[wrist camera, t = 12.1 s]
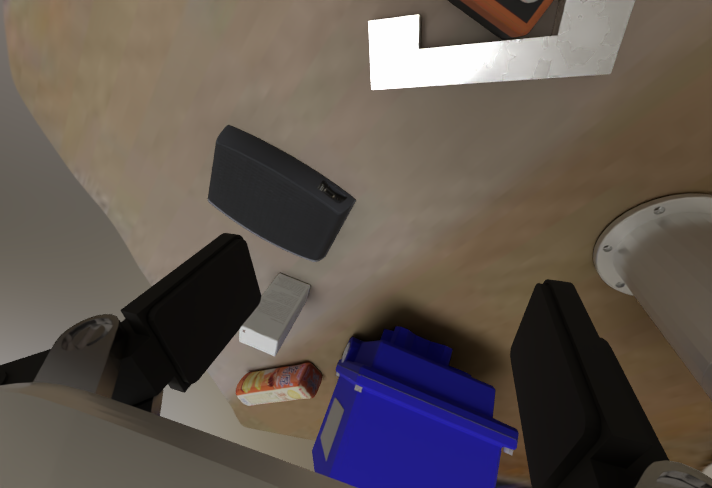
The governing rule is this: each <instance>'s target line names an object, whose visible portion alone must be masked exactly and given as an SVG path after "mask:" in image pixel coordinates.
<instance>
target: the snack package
mask: <svg viewBox="0 0 712 488" xmlns="http://www.w3.org/2000/svg"><path fill="white" fill-rule="evenodd" d="M321 381H322V375H321V372H320V371H319V370H318V369H317V368H316V367H315V366H314V365H313V364H312V363H303V364H300V365H294V366H287V367H280V368H273V369H269V370H263V371H256V372H249V373H247V374H246V375H244V377H243V378H242V379H241V380H240V382H239V383H238V385H237V388H236V395H237V397H238V398H239V399H240V400H241V401H242V403H243V404H245V405H248V406H252V405H257V404H266V403H272V402H283V401H290V400H297V399H311V398H313V397H314V396H315V395H316V393H317V391H318V389H319V386H320V384H321Z"/></svg>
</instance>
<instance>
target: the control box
mask: <svg viewBox="0 0 712 488" xmlns="http://www.w3.org/2000/svg"><path fill="white" fill-rule="evenodd" d="M452 350H453V349H451V348H449V347H447V346H445V345H442V344H438V343H435V342H431V341H429V340H426V339H424V338H422V337H419V336H417V335H415V334H414V333H412V332H411V331H409V330H408V329H405V328H403V327H398V326H396V327H395V330H394V331H391V330H387V329H384V331H383V334H382V337H381V339H380V340H379V341H368V342H363V341H361V340H359V339H357V338H354V337H352V338H351V339H350V340H349V342H348V344H347V346H346V348H345V351H344V353H343V357H342V359H340V360H339V362H338V364H337V367H336V376H339V379H338V382H337V385H336V387H335V390H334V393H333V395H332V398H331V401H330V404H329V406H328V409H327V412H326V414H325V417H324V420H323V423H322V425H321V428H320V431H319V433H318V436H317V439H316V442H315V444H314V447H313V450H312V454H313V461H314V469H315V472H316V473H319V474H322V475H324V476H327V477H330V478H332V479H335V480H338V481H341V482H343V483H346V484H349V485H351V486H354V487H357V488H495V487H496V480H497V474H498V468H499V461H500V455H501V448H502V447H504V452H505V453H508V454H510V455H512V453H513V450H515V449H516V448H517V442H518V434H519V433H518V431H517V429H515V428H513V427H511V426H509V425H507V424H504V423H502V422H500V421H498V420H496V419H494V418H493V409H494V399H495V389H494V387H493V386H491V385H488V384H486V383H484V382H481V381H479V380H477V379H474V378H472V377H471V375H470V374H468V373H466V372H464V371H461V370H459V369H456V368H454V367H451V366H449V362H450V358H451V354H452ZM512 449H513V450H512Z"/></svg>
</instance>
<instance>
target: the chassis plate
mask: <svg viewBox="0 0 712 488" xmlns="http://www.w3.org/2000/svg"><path fill="white" fill-rule="evenodd" d="M634 3H635V0H559V4H558V8H557V13H556V17H555V21H554V26H553V30H552V35H551V36H547V37H537V38H526V39H516V40H506V41H496V42H486V43H476V44H466V45H456V46H446V47H436V48H426V49H420V41H421V16H420V15H419V14H418V15H410V16H403V17H395V18H388V19H380V20H372V21H368V26H369V48H370V70H371V90H377V89H392V88H407V87H422V86H438V85H453V84H468V83H483V82H499V81H514V80H529V79H544V78H560V77H575V76H590V75H605V74H611V71H612V68H613V65H614V62H615V59H616V56H617V53H618V50H619V47H620V44H621V41H622V38H623V35H624V32H625V29H626V26H627V23H628V21H629V18H630V15H631V12H632V9H633V6H634Z"/></svg>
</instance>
